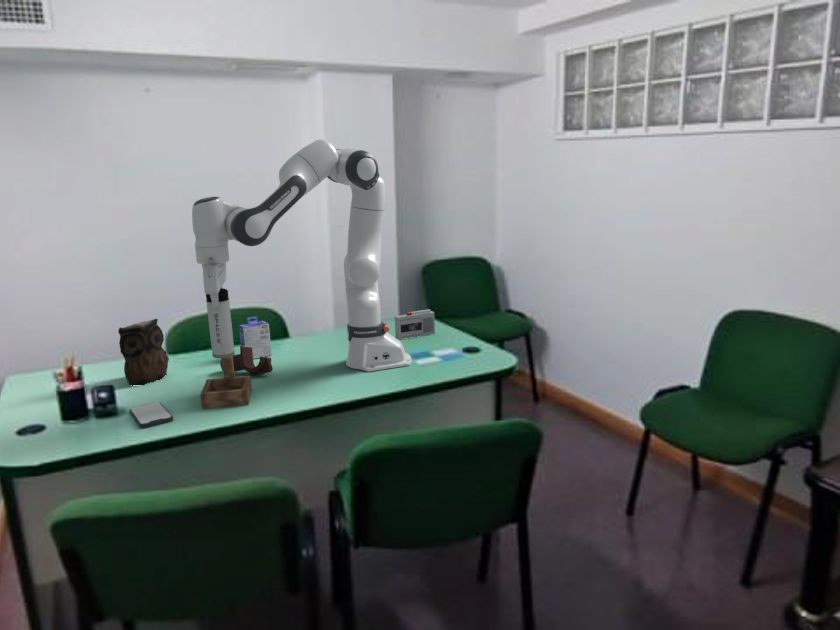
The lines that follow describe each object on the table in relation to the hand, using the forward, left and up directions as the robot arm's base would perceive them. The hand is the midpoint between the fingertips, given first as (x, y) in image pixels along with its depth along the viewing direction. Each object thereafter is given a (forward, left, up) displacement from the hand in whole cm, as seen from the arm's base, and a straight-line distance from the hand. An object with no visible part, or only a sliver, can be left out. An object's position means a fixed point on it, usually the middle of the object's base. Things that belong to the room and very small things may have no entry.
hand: (217, 303), depth 183 cm
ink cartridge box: (-6, -41, -30) cm, 51 cm away
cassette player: (-66, -50, -30) cm, 88 cm away
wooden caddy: (0, -2, -29) cm, 29 cm away
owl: (+29, -26, -30) cm, 49 cm away
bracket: (-4, -22, -30) cm, 38 cm away
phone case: (+20, +8, -30) cm, 37 cm away
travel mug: (0, 0, -16) cm, 16 cm away
